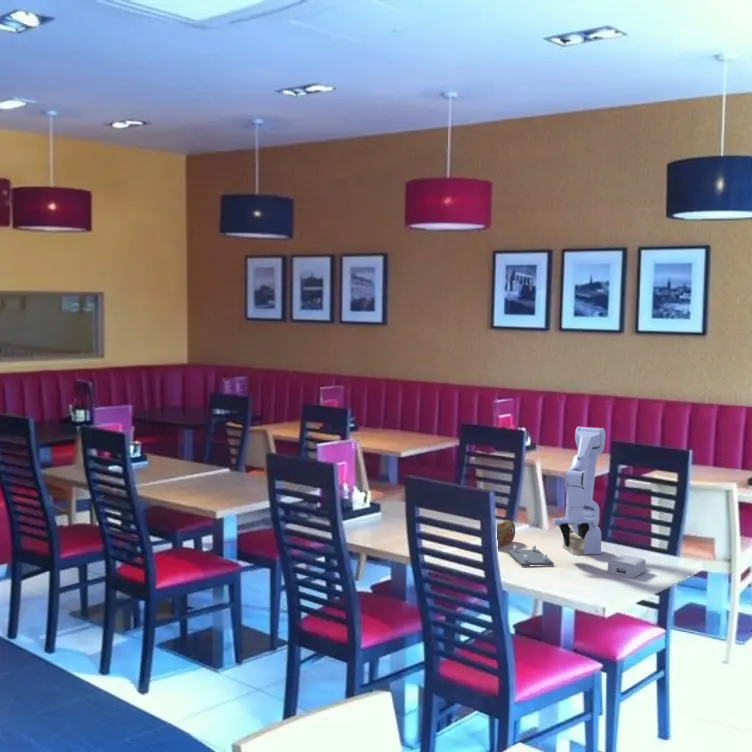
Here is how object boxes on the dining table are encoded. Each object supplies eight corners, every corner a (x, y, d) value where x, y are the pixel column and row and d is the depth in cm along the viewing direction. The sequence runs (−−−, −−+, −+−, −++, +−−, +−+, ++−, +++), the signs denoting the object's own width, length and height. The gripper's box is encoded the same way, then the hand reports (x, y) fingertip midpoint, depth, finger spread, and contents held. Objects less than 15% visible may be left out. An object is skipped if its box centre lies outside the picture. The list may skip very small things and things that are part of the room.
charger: (652, 568, 308) (634, 579, 296) (625, 563, 314) (607, 573, 302) (652, 554, 308) (635, 564, 296) (626, 550, 313) (608, 559, 301)
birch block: (574, 547, 316) (574, 532, 316) (584, 554, 307) (584, 539, 307) (562, 547, 315) (563, 533, 315) (572, 554, 307) (572, 540, 306)
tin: (495, 549, 328) (495, 526, 327) (487, 548, 330) (487, 524, 329) (515, 541, 340) (516, 518, 339) (508, 539, 342) (508, 517, 341)
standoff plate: (537, 552, 324) (538, 543, 324) (553, 565, 309) (553, 556, 308) (507, 553, 323) (507, 544, 322) (521, 566, 307) (521, 557, 307)
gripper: (558, 509, 305) (556, 549, 306) (600, 508, 307) (598, 548, 308) (550, 504, 312) (549, 543, 313) (592, 503, 314) (590, 542, 315)
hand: (573, 545), depth 311 cm, fingers closed on birch block, 4 cm apart
